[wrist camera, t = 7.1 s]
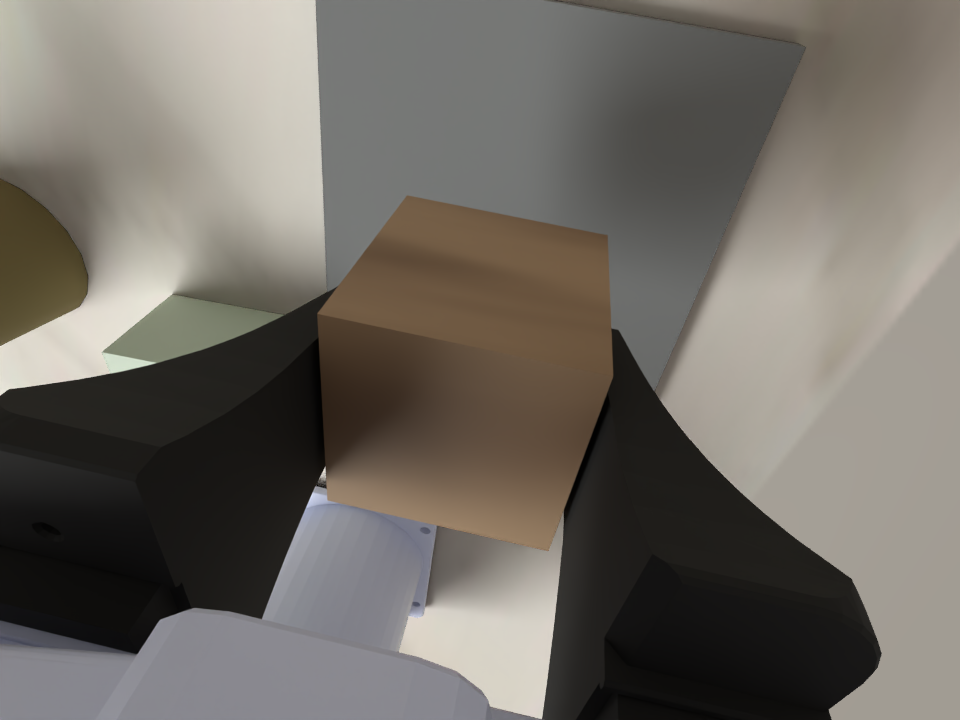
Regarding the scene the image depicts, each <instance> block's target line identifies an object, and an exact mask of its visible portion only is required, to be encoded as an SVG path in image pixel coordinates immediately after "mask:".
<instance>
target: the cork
mask: <svg viewBox="0 0 960 720" xmlns="http://www.w3.org/2000/svg"><path fill="white" fill-rule="evenodd" d="M87 282H88V275H87V272H86V269H85V266H84V263H83V259H82V256H81V254H80V252H79V250H78V249H77V247H76V246H75V244H74V242H73V241H72V239H71V237H70V236H69V234H68V233H67V231H66V230H65V229H64V228H63V227H62V226H61V224H60V223H59V222H58V221H57V220H56V219H55V218H54V217H53V216H52V215H51V214H50V212H49V211H48V210H47V209H46V208H45V207H43V206H42V205H41V204H39V203H38V202H37V201H35V200H34V199H33V198H32V197H30V196H29V195H28V194H26V193H25V192H24V191H22V190H21V189H19V188H17V187H15V186H13V185H11V184H9V183H7V182H5V181H3V180H1V179H0V346H1V345H3V344H5V343H7V342H9V341H11V340H13V339H15V338H17V337H19V336H21V335H23V334H25V333H27V332H29V331H31V330H34V329H36V328H38V327H40V326H42V325H44V324H46V323H48V322H50V321H52V320H54V319H56V318H58V317H60V316H62V315H64V314H66V313H68V312H70V311H72V310H74V309H76V308H78V307H79V306H80V305H81V303H82V301H83V300H84V298H85V296H86V295H87Z"/></svg>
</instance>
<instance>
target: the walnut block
mask: <svg viewBox="0 0 960 720" xmlns="http://www.w3.org/2000/svg"><path fill="white" fill-rule="evenodd" d="M317 318H318V337H319V355H320V373H321V392H322V410H323V428H324V447H325V465H326V483H327V500H328V501H332V502H336V503H341V504H345V505H349V506H354V507H358V508H362V509H367V510H371V511H376V512H380V513H384V514H389V515H393V516H397V517H402V518H406V519H410V520H415V521H419V522H424V523H428V524H432V525H437V526H441V527H445V528H450V529H454V530H458V531H463V532H467V533H472V534H476V535H480V536H485V537H489V538H493V539H498V540H502V541H506V542H511V543H515V544H520V545H524V546H528V547H533V548H537V549H541V550H546V551H549V548H550V546H551V543H552V540H553V538H554V535H555V532H556V529H557V527H558V524H559V521H560V519H561V516H562V513H563V511H564V508H565V505H566V503H567V500H568V497H569V494H570V492H571V489H572V486H573V484H574V481H575V478H576V476H577V473H578V470H579V467H580V465H581V462H582V459H583V457H584V454H585V451H586V449H587V446H588V443H589V441H590V438H591V435H592V432H593V430H594V427H595V424H596V422H597V419H598V416H599V414H600V411H601V408H602V406H603V403H604V400H605V397H606V395H607V392H608V389H609V387H610V384H611V381H612V379H613V357H612V332H611V306H610V281H609V255H608V235H604V234H599V233H594V232H589V231H584V230H579V229H574V228H569V227H564V226H559V225H554V224H549V223H544V222H539V221H534V220H529V219H524V218H519V217H514V216H509V215H504V214H499V213H493V212H488V211H483V210H478V209H473V208H468V207H463V206H458V205H453V204H448V203H443V202H438V201H433V200H428V199H423V198H418V197H413V196H408V195H407V196H406V197H405V199H404V200H403V201H402V203H401V204H400V205H399V207H398V208H397V209H396V211H395V212H394V213H393V215H392V216H391V217H390V218H389V220H388V221H387V222H386V224H385V225H384V226H383V228H382V229H381V230H380V232H379V233H378V234H377V236H376V237H375V238H374V240H373V241H372V242H371V244H370V245H369V246H368V248H367V249H366V250H365V251H364V253H363V254H362V255H361V257H360V258H359V259H358V261H357V262H356V263H355V265H354V266H353V267H352V269H351V270H350V271H349V273H348V274H347V275H346V277H345V278H344V279H343V280H342V282H341V283H340V284H339V286H338V287H337V288H336V290H335V291H334V292H333V294H332V295H331V296H330V298H329V299H328V300H327V302H326V303H325V304H324V306H323V307H322V308H321V309H320V311H319V312H318V313H317Z"/></svg>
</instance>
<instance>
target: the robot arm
mask: <svg viewBox="0 0 960 720" xmlns="http://www.w3.org/2000/svg"><path fill="white" fill-rule="evenodd" d="M337 287H338V286H337ZM337 287H336V288H337ZM336 288H334V289H332V290H330V291H328V292H327V293H325V294H323V295H321V296H320V297H318V298H316V299H314V300H312V301H310V302H309V303H307V304H305V305H303V306H301V307H299V308H298V309H296V310H294V311H292V312H290V313H288V314H286V315H284V316H282V317H280V318H278V319H275V320H273V321H271V322H269V323H267V324H265V325H263V326H261V327H259V328H257V329H255V330H252V331H250V332H248V333H245V334H243V335H240V336H238V337H235V338H233V339H230V340H228V341H225V342H222V343H219V344H217V345H214V346H211V347H209V348H206V349H203V350H200V351H196V352H193V353H189V354H186V355H182V356H179V357H176V358H172V359H169V360H165V361H162V362H159V363H155V364H151V365H147V366H143V367H139V368H134V369H130V370H126V371H121V372H116V373H111V374H106V375H101V376H96V377H91V378H85V379H80V380H73V381H66V382H59V383H52V384H46V385H39V386H32V387H25V388H17V389H9V390H7V391H6V392H5V393H3V394H2V395H1V396H0V720H831V717H830V714H829V709H830V708H831V707H833V706H834V705H835V704H837V703H838V702H839V701H841V700H842V699H843V698H845V697H846V696H847V695H849V694H850V693H851V692H853V691H854V690H855V689H856V688H858V687H859V686H861V685H862V684H863V683H864V682H865V681H866V680H867V679H868V678H869V677H870V676H871V675H872V674H873V672H874V671H875V670H876V669H877V668H878V664H879V661H880V657H881V651H880V647H879V644H878V641H877V638H876V635H875V633H874V630H873V628H872V625H871V622H870V620H869V617H868V615H867V612H866V610H865V607H864V605H863V603H862V600H861V598H860V596H859V594H858V591H857V589H856V587H855V585H854V583H853V582H852V579H851V578H849V577H848V576H846V575H845V574H844V573H843V572H841V571H840V570H838V569H837V568H836V567H834V566H833V565H831V564H830V563H829V562H827V561H826V560H824V559H823V558H822V557H820V556H819V555H818V554H816V553H815V552H813V551H812V550H811V549H809V548H808V547H806V546H805V545H804V544H802V543H801V542H799V541H798V540H797V539H795V538H794V537H793V536H791V535H790V534H789V533H788V532H786V531H785V530H784V529H783V528H781V527H780V526H779V525H778V524H777V523H775V522H774V521H773V520H772V519H771V518H769V517H768V516H767V515H765V514H764V513H763V512H762V511H761V510H760V509H759V508H757V507H756V506H755V505H754V504H753V503H752V502H751V501H749V500H748V499H747V498H746V497H745V496H744V495H743V494H742V493H741V492H740V491H739V490H738V489H737V488H735V487H734V486H733V485H732V484H731V483H730V482H729V481H728V480H727V479H726V478H725V477H724V476H723V475H722V474H721V473H720V472H719V471H718V470H717V469H716V468H715V467H714V466H713V465H712V464H711V463H710V462H709V461H708V460H707V459H706V457H705V456H704V455H703V454H702V453H701V452H700V451H699V449H698V448H697V447H696V446H695V445H694V444H693V443H692V441H691V440H690V439H689V438H688V437H687V436H686V434H685V433H684V432H683V431H682V430H681V428H680V427H679V426H678V424H677V423H676V422H675V420H674V419H673V418H672V416H671V415H670V414H669V412H668V411H667V409H666V408H665V407H664V405H663V404H662V403H661V401H660V400H659V398H658V397H657V395H656V393H655V392H654V390H653V389H652V387H651V385H650V384H649V382H648V381H647V379H646V377H645V376H644V374H643V372H642V371H641V369H640V367H639V365H638V364H637V362H636V360H635V358H634V357H633V355H632V353H631V351H630V349H629V347H628V346H627V344H626V342H625V340H624V338H623V337H622V335H621V333H620V331H619V330H617V329H612V328H611V332H612V357H613V379H612V381H611V384H610V387H609V389H608V392H607V395H606V397H605V400H604V403H603V406H602V408H601V411H600V414H599V416H598V419H597V422H596V424H595V427H594V430H593V432H592V435H591V438H590V441H589V443H588V446H587V449H586V451H585V454H584V457H583V459H582V462H581V465H580V467H579V470H578V473H577V476H576V478H575V481H574V484H573V486H572V489H571V492H570V494H569V497H568V500H567V503H566V505H565V508H564V530H563V546H562V556H561V566H560V576H559V586H558V595H557V604H556V613H555V622H554V631H553V639H552V647H551V656H550V664H549V672H548V680H547V687H546V695H545V702H544V710H543V717H542V719H538V718H534V717H530V716H526V715H522V714H517V713H513V712H509V711H505V710H501V709H497V708H493V707H490V706H489V702H488V699H487V698H486V696H485V695H484V694H483V692H482V691H481V690H480V689H479V688H477V687H476V686H475V685H474V684H472V683H471V682H470V681H468V680H467V679H466V678H464V677H463V676H462V675H461V674H459V673H458V672H457V671H454V670H451V669H449V668H446V667H443V666H441V665H438V664H435V663H433V662H430V661H427V660H425V659H422V658H419V657H416V656H412V655H407V654H403V653H399V648H400V645H401V641H402V638H403V634H404V630H405V627H406V623H407V620H408V616H412V617H417V618H418V617H421V616H423V614H424V611H425V604H426V598H427V591H428V584H429V577H430V571H431V564H432V557H433V550H434V543H435V537H436V530H437V525H432V524H428V523H424V522H419V521H415V520H410V519H406V518H402V517H397V516H393V515H389V514H384V513H380V512H376V511H371V510H367V509H362V508H358V507H354V506H349V505H345V504H341V503H336V502H332V501H328V500H327V489H326V488H321V487H317V486H316V484H317V482H318V480H319V478H320V476H321V474H322V472H323V470H324V468H325V466H326V465H325V447H324V428H323V410H322V392H321V373H320V355H319V337H318V318H317V313H318V312H319V311H320V309H321V308H322V307H323V306H324V304H325V303H326V302H327V300H328V299H329V298H330V296H331V295H332V294H333V292H334V291H335V290H336Z"/></svg>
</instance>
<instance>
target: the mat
mask: <svg viewBox="0 0 960 720" xmlns="http://www.w3.org/2000/svg"><path fill="white" fill-rule="evenodd" d="M316 22H317V48H318V73H319V99H320V124H321V150H322V175H323V200H324V226H325V251H326V277H327V292H328V291H330V290H332V289H334V288H336V287H337V286H339V284H340V283H341V282H342V280H343V279H344V278H345V277H346V275H347V274H348V273H349V271H350V270H351V269H352V267H353V266H354V265H355V263H356V262H357V261H358V259H359V258H360V257H361V255H362V254H363V253H364V251H365V250H366V249H367V248H368V246H369V245H370V244H371V242H372V241H373V240H374V238H375V237H376V236H377V234H378V233H379V232H380V230H381V229H382V228H383V226H384V225H385V224H386V222H387V221H388V220H389V218H390V217H391V216H392V215H393V213H394V212H395V211H396V209H397V208H398V207H399V205H400V204H401V203H402V201H403V200H404V199H405V197H406V196H407V195H408V196H413V197H418V198H423V199H428V200H433V201H438V202H443V203H448V204H453V205H458V206H463V207H468V208H473V209H478V210H483V211H488V212H493V213H499V214H504V215H509V216H514V217H519V218H524V219H529V220H534V221H539V222H544V223H549V224H554V225H559V226H564V227H569V228H574V229H579V230H584V231H589V232H594V233H599V234H604V235H608V255H609V281H610V306H611V328H612V329H617V330H619V331H620V333H621V335H622V337H623V338H624V340H625V342H626V344H627V346H628V347H629V349H630V351H631V353H632V355H633V357H634V358H635V360H636V362H637V364H638V365H639V367H640V369H641V371H642V372H643V374H644V376H645V377H646V379H647V381H648V382H649V384H650V385H651V387H652V389H653V390H654V391H655V389H656V387H657V385H658V382H659V380H660V378H661V376H662V373H663V371H664V369H665V366H666V364H667V362H668V360H669V357H670V355H671V353H672V351H673V348H674V346H675V344H676V341H677V339H678V337H679V335H680V332H681V330H682V328H683V326H684V323H685V321H686V319H687V316H688V314H689V312H690V310H691V307H692V305H693V303H694V301H695V298H696V296H697V294H698V291H699V289H700V287H701V285H702V282H703V280H704V278H705V276H706V273H707V271H708V269H709V266H710V264H711V262H712V260H713V257H714V255H715V253H716V251H717V248H718V246H719V244H720V241H721V239H722V237H723V235H724V232H725V230H726V228H727V226H728V223H729V221H730V219H731V216H732V214H733V212H734V210H735V207H736V205H737V203H738V201H739V198H740V196H741V194H742V191H743V189H744V187H745V185H746V182H747V180H748V178H749V176H750V173H751V171H752V169H753V166H754V164H755V162H756V160H757V157H758V155H759V153H760V151H761V148H762V146H763V144H764V142H765V139H766V137H767V135H768V132H769V130H770V128H771V126H772V123H773V121H774V119H775V117H776V114H777V112H778V110H779V107H780V105H781V103H782V101H783V98H784V96H785V94H786V92H787V89H788V87H789V85H790V82H791V80H792V78H793V76H794V73H795V71H796V69H797V67H798V64H799V62H800V60H801V57H802V55H803V53H804V51H805V48H806V47H804V46H802V45H800V44H797V43H791V42H786V41H780V40H775V39H769V38H764V37H758V36H752V35H747V34H741V33H736V32H730V31H724V30H719V29H713V28H708V27H702V26H696V25H691V24H685V23H680V22H674V21H668V20H663V19H657V18H652V17H646V16H640V15H635V14H629V13H624V12H618V11H613V10H607V9H601V8H596V7H590V6H585V5H579V4H573V3H568V2H562V1H557V0H316Z"/></svg>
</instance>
